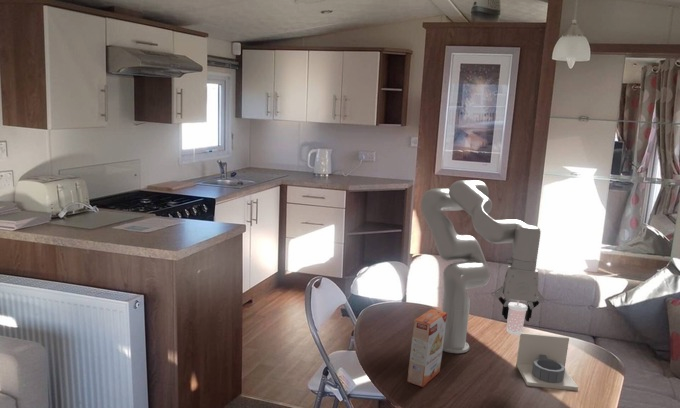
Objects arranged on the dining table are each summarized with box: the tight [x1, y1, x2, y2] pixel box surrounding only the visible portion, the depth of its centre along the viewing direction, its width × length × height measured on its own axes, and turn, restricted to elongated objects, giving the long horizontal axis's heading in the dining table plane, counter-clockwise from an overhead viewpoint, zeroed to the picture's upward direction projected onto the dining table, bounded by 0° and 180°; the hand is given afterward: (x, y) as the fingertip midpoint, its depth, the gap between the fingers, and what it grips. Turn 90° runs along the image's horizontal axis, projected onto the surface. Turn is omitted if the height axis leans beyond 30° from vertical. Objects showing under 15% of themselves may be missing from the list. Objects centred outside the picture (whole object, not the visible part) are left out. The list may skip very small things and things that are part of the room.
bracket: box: [515, 331, 579, 392], centre depth 191 cm, size 16×15×12 cm
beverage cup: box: [506, 301, 528, 336], centre depth 184 cm, size 6×6×14 cm
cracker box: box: [406, 308, 447, 388], centre depth 184 cm, size 14×6×21 cm, turn 148°
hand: (516, 318), depth 184 cm, fingers closed on beverage cup, 6 cm apart
